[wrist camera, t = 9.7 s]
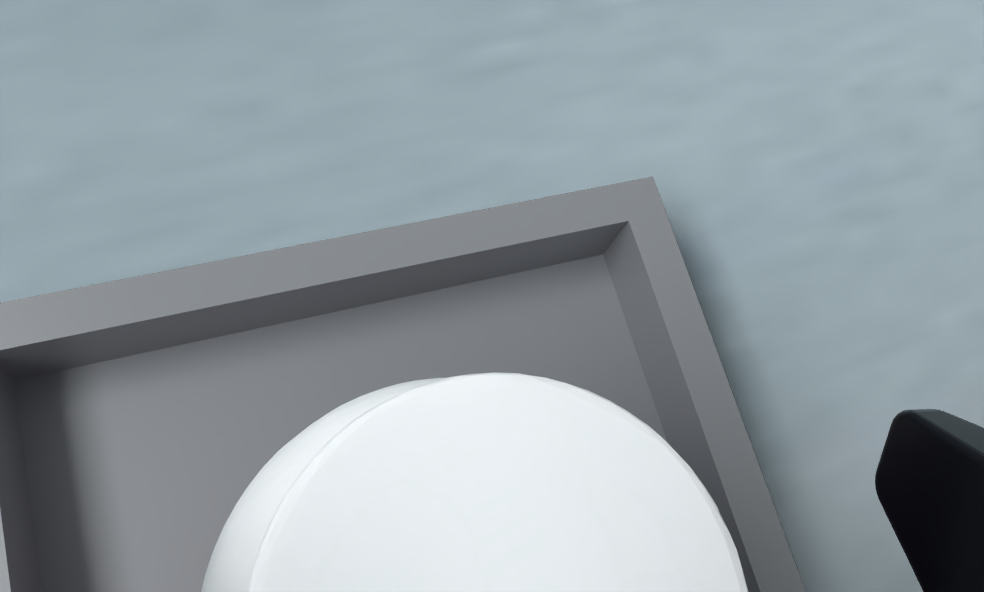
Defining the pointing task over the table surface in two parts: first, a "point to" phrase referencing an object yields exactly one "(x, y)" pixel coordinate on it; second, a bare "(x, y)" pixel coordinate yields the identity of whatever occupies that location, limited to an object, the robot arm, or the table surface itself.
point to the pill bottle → (476, 499)
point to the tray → (343, 375)
